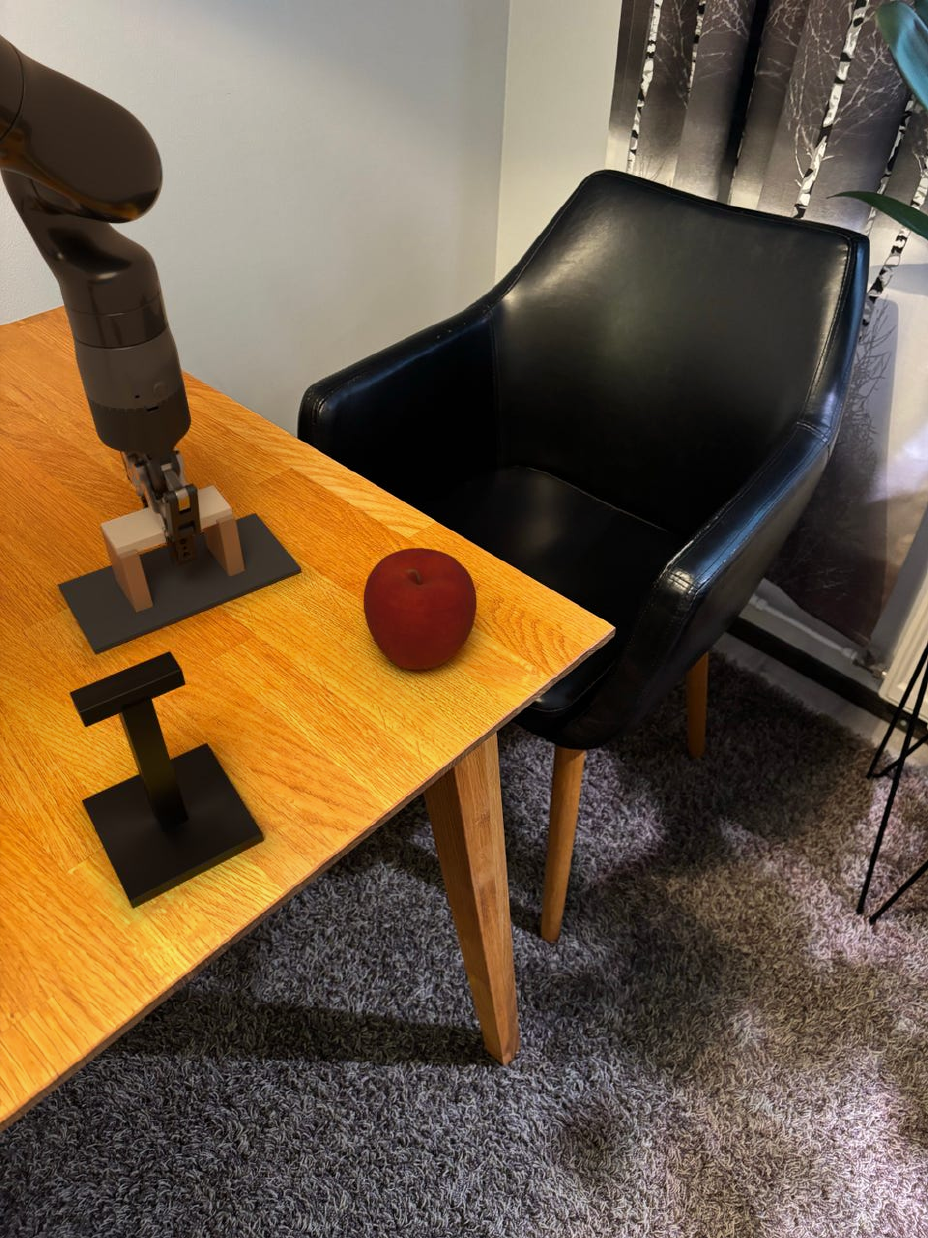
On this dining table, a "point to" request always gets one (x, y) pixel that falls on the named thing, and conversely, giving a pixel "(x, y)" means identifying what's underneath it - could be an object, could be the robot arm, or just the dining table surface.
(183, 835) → the stand
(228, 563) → the beige wooden bench
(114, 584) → the mat
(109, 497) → the dining table surface
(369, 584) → the apple
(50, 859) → the dining table surface
